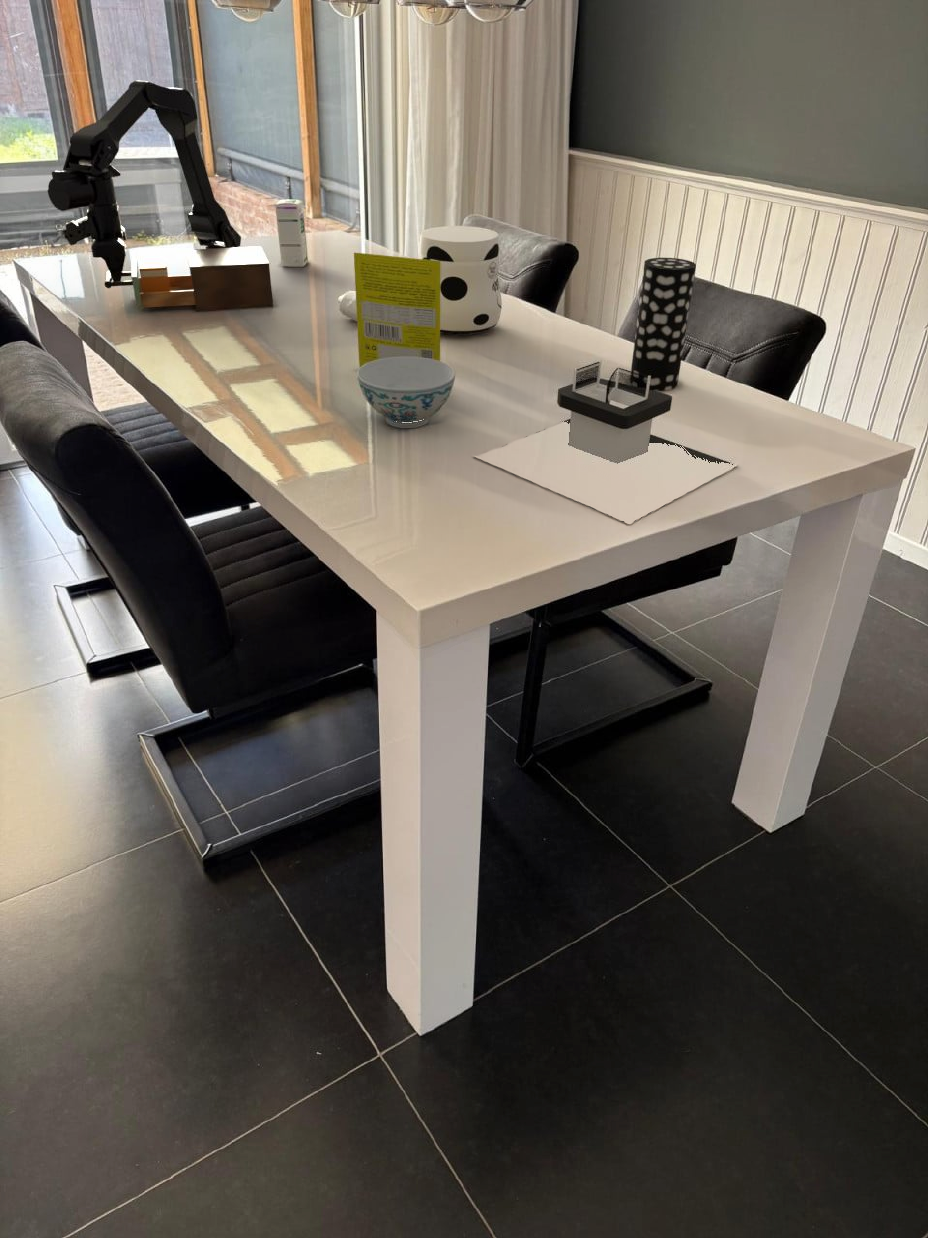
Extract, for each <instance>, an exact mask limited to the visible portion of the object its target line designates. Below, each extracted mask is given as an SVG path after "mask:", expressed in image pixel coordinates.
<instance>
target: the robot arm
mask: <svg viewBox="0 0 928 1238" xmlns="http://www.w3.org/2000/svg"><path fill="white" fill-rule="evenodd" d="M149 109H150V110H152V111H154V113H155V114H156V117H157V119H158V121H159V123H160V125H161V127H163V128H164V129H165V131H166V132H167V134H169V135H170V137H171V138H172V141H173V144H174V147H175V151H176V155H177V157H178V160H179V163H180V167H181V169H182V172H183V176H184V179H185V182H186V185H187V189H188V192H189V196H190V198H191V201H192V208H191V211H190V213H188V214H187V220H188V222H189V224H190V230H191V232H192V233H194V236H195V237H196V239H197V241H198V244H199V246H201V247H202V246H203V247H205V249H216V248H239V247H241V243H242V242H241V241H242V236H241V235H240V234H239V233H238V231H236V229H235V228H234V227H233V226H232V225H231V222H230V219H229V217H228V214H227V212H226V211H225V209H224V208H223V207H222V205H220V203H219V202H218V201H217V200H216V198H215V196H214V191H213V189H212V185H211V183H210V179H209V176H208V172H207V168H206V165H205V162H204V159H203V156H202V151H201V148H200V146H199V142H198V139H197V136H196V135H197V134H196V127H197V123H198V113H197V108H196V101H195V99H194V96H193V93H191V92H189V90H187V89H186V88H180V87H179V88H178V87H165V86H161V85H159V84H156V83H154V82H152V81H146V80H134V81H132V82H130V83H129V85H128V88H127V89H126V90H125V92H124V93H122V95H121V96H120V97H119V98H118V99H117V100H116V101H115V102H114V103H113V104H112V105H111V107H110V108H109V109H108V110H107V111H106V112H105V113H104V114H103V115H102V116H101V117H100V118H99V120H97V121H96V122H93V123H90V124H88V125H85V126H83V127H81V128H80V129H79V130H77V131H75V132H74V133H72V135H71V137H70V139H69V148H68V151H67V155H66V157H65V161H64V163H63V168H62V170H61V171H60V170H53V171H51V177H52V178H51V179H50V180H49V182H48V185H47V195H48V198H49V200H50V202H51V204H52V206H53V207H55V209H56V210H59V211H61V212H66V211H72V210H76V209H80V208H81V209H82V208H86V207H87V209H86V216H83V217H81V218H78V219H76V220H71V221H70V222H66V223H65V225H63V226H62V227H61V232H62V234H63V235H64V236H63V237H64V239H65V240H67V242H68V244H69V245H70V246H74V245H76V244H77V243H78V242H81V241H83V240H85V239H87V238H89V237H90V239H91V240H93V241H92V243H91V246H90V249H91V255H92V258H95V259H97V258H98V259H99V258H100V259H102V260H103V261H104V262H105V264H106V267H107V269H108V271H109V272H110V274H111V277H112V282H113V281H122V277H123V276H122V272H124V266H125V261H126V257H127V245H126V244H125V242H124V241H127V234H126V233H127V232H126V229H125V227H124V226H122V222H121V217H120V209H119V205H118V201H117V195H116V189H115V184H114V179H113V178H117V177H121V175H122V174H121V172H120V171H119V170H117V168H115V167H114V166H113V165H112V163H113V161H114V160H115V158H116V157H117V154H118V153H119V151H120V142H121V140H122V139H123V138H124V137H125V135H127V133H128V132H129V131H130V130H131V129H132V128H133V127H134V125H135V124H137V122H138V121H139V120H140V119H141V117H143V116H144V114H145V113H146V112H147V111H148V110H149Z"/></svg>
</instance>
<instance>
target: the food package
mask: <svg viewBox="0 0 928 1238" xmlns="http://www.w3.org/2000/svg"><path fill="white" fill-rule="evenodd" d="M353 263H354V267H353V268H354V285H355V286H354V287H355V291H356V307H357V322H356V324H357V346H358V365H359V366H358V367H359V368H360V367H361V366H363V365H364V364H366V363H369V362H371V361H374V360H378V359H383V358H390V357H422V358H429V359H434V360H438V361H441V333H440V261H434V260H424V259H419V258H412V257H405V256H394V255H383V254H374V253H363V252H353ZM359 368H358V369H359Z"/></svg>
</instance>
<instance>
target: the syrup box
mask: <svg viewBox="0 0 928 1238" xmlns="http://www.w3.org/2000/svg"><path fill="white" fill-rule="evenodd" d="M303 203H304V201H303V200H301V199H292V198H291V199H279V201H277V203H275V205H274V206H275V215H276V226H277V234H278V244H279V252H280V253H279V254H280V262H281V266H282V267H289V268H291V267H292V268H294V267H295V268H303V267H305V265H306V264H307V263H308V262H309V257H308V246H307V245H308V244H307V234H306V224H305V214H304V205H303Z"/></svg>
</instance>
